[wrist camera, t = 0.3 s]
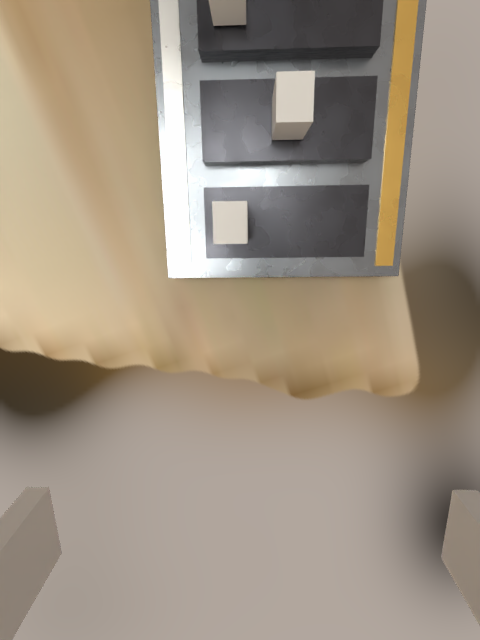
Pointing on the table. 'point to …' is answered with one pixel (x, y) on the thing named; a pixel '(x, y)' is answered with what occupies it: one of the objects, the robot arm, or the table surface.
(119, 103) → the table surface
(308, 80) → the block
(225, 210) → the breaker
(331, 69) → the panel
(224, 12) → the block
